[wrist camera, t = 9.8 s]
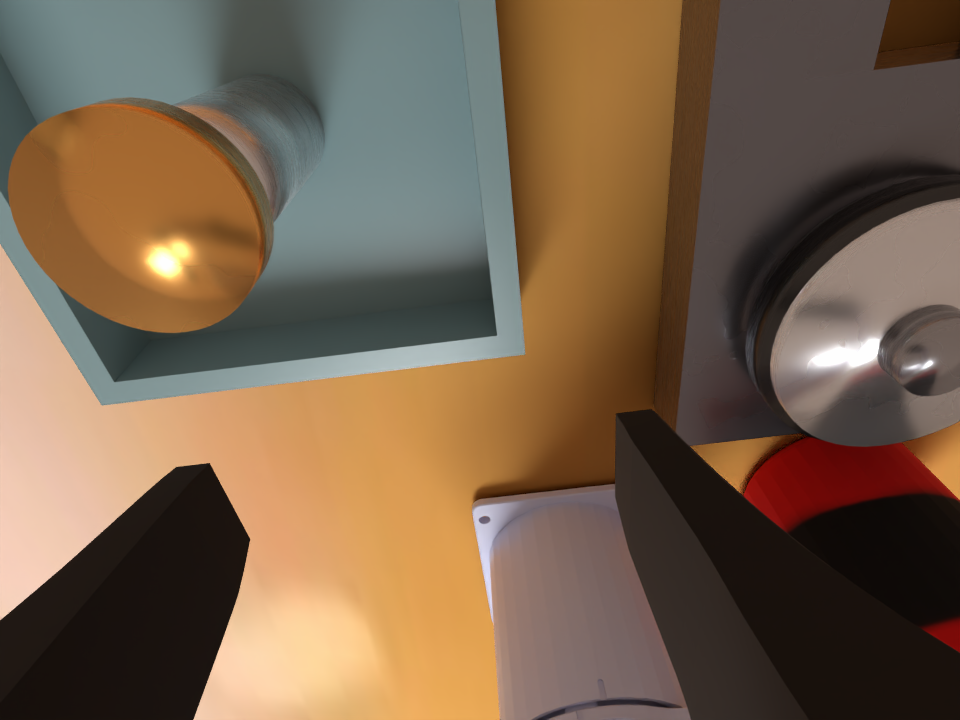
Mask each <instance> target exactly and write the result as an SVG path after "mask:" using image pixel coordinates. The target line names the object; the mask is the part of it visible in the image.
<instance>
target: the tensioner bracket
mask: <svg viewBox="0 0 960 720" xmlns="http://www.w3.org/2000/svg"><path fill="white" fill-rule="evenodd" d="M890 1H891V0H683V5H682V19H681V33H680V47H679V60H678V74H677V88H676V102H675V116H674V129H673V143H672V157H671V171H670V185H669V199H668V212H667V226H666V240H665V254H664V268H663V281H662V295H661V309H660V323H659V337H658V351H657V364H656V378H655V392H654V408H655V410H656V412H657V414H658V415H659V416H660V417H661V418H662V419H663V420H664V421H665V422H666V423H667V424H668V425H669V426H670V427H671V428H672V429H673V430H674V431H675V432H676V433H677V434H678V435H679V436H680V437H681V438H682V439H683V440H684V441H685V442H686V443H687V444H688V445H689V446H693V445H701V444H710V443H719V442H728V441H736V440H745V439H754V438H763V437H771V436H780V435H789V434H797V433H802V434H804V435H806V436H808V437H812V438H815V439H819V440H822V441H827V442H831V443H834V444H840V445H846V446H861V447H868V446H882V445H889V444H895V443H900V442H904V441H908V440H912V439H916V438H919V437H922V436H925V435H928V434H931V433H934V432H936V431H939V430H941V429H944V428H946V427H949V426H951V425H953V424H955V423H957V422H959V421H960V41H959V42H951V43H944V44H936V45H929V46H921V47H914V48H906V49H899V50H892V51H884V52H878V50H879V46H880V41H881V37H882V33H883V29H884V25H885V21H886V17H887V13H888V9H889V5H890Z"/></svg>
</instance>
